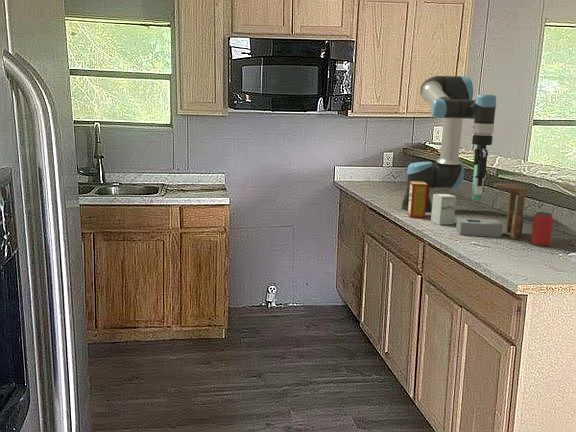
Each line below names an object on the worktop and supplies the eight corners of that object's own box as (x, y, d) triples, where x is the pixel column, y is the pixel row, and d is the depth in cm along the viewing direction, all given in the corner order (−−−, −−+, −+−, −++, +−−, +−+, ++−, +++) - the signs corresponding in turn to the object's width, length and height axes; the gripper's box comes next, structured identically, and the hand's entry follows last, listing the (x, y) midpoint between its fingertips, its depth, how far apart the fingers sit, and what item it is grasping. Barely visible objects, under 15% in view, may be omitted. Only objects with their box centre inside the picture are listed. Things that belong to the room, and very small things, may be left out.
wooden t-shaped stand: (489, 230, 232) (494, 183, 228) (511, 231, 231) (517, 184, 227) (497, 238, 219) (502, 187, 215) (521, 239, 218) (527, 188, 214)
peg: (470, 198, 226) (473, 164, 223) (480, 199, 225) (483, 164, 223) (472, 200, 222) (475, 165, 219) (482, 200, 221) (486, 165, 219)
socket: (456, 229, 232) (457, 217, 231) (495, 231, 230) (496, 219, 229) (460, 234, 222) (461, 222, 221) (501, 237, 220) (502, 224, 219)
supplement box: (439, 225, 240) (441, 196, 237) (430, 221, 247) (432, 193, 244) (454, 224, 242) (456, 196, 239) (445, 221, 249) (447, 193, 246)
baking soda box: (424, 218, 254) (427, 183, 251) (410, 217, 255) (413, 183, 251) (421, 214, 263) (424, 180, 260) (407, 213, 264) (410, 180, 261)
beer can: (533, 241, 215) (537, 211, 212) (551, 244, 211) (555, 213, 208) (528, 244, 210) (532, 213, 207) (546, 247, 206) (550, 215, 203)
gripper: (468, 133, 227) (463, 189, 232) (477, 135, 211) (471, 196, 215) (487, 134, 226) (482, 190, 231) (497, 136, 210) (491, 197, 214)
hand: (477, 193), depth 223 cm, fingers closed on peg, 4 cm apart
